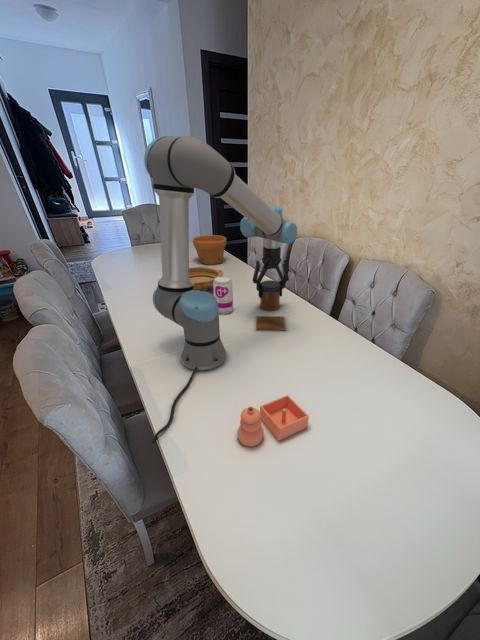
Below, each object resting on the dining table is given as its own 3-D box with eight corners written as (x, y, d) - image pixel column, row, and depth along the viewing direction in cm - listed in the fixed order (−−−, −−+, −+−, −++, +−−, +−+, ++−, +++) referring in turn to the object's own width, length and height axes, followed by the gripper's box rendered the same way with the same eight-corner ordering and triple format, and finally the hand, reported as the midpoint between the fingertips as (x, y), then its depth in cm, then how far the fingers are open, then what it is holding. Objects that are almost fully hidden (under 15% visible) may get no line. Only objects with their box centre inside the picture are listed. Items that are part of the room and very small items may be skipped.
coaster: (285, 330, 126) (285, 329, 125) (256, 330, 125) (256, 329, 125) (283, 317, 136) (283, 316, 135) (256, 317, 136) (256, 316, 135)
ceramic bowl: (183, 303, 146) (181, 287, 142) (162, 287, 162) (160, 272, 158) (234, 289, 162) (234, 275, 158) (211, 276, 178) (210, 263, 173)
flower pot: (187, 262, 200) (185, 238, 192) (210, 255, 214) (208, 233, 206) (212, 268, 190) (210, 244, 182) (233, 260, 205) (232, 237, 197)
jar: (279, 311, 141) (281, 289, 136) (260, 310, 141) (260, 289, 135) (278, 303, 149) (279, 282, 143) (260, 302, 149) (260, 282, 143)
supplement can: (230, 315, 136) (229, 283, 128) (212, 313, 138) (210, 281, 129) (235, 307, 143) (234, 276, 135) (218, 306, 144) (216, 275, 136)
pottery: (286, 405, 88) (289, 379, 83) (307, 427, 82) (311, 399, 76) (230, 429, 80) (229, 401, 75) (248, 455, 74) (248, 426, 68)
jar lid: (270, 293, 134) (270, 289, 133) (256, 287, 140) (256, 283, 139) (284, 287, 140) (284, 284, 139) (270, 282, 145) (270, 278, 144)
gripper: (293, 243, 135) (289, 291, 147) (244, 245, 130) (245, 294, 143) (299, 247, 129) (295, 297, 141) (248, 250, 124) (248, 301, 137)
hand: (270, 296), depth 142 cm, fingers closed on jar lid, 9 cm apart
